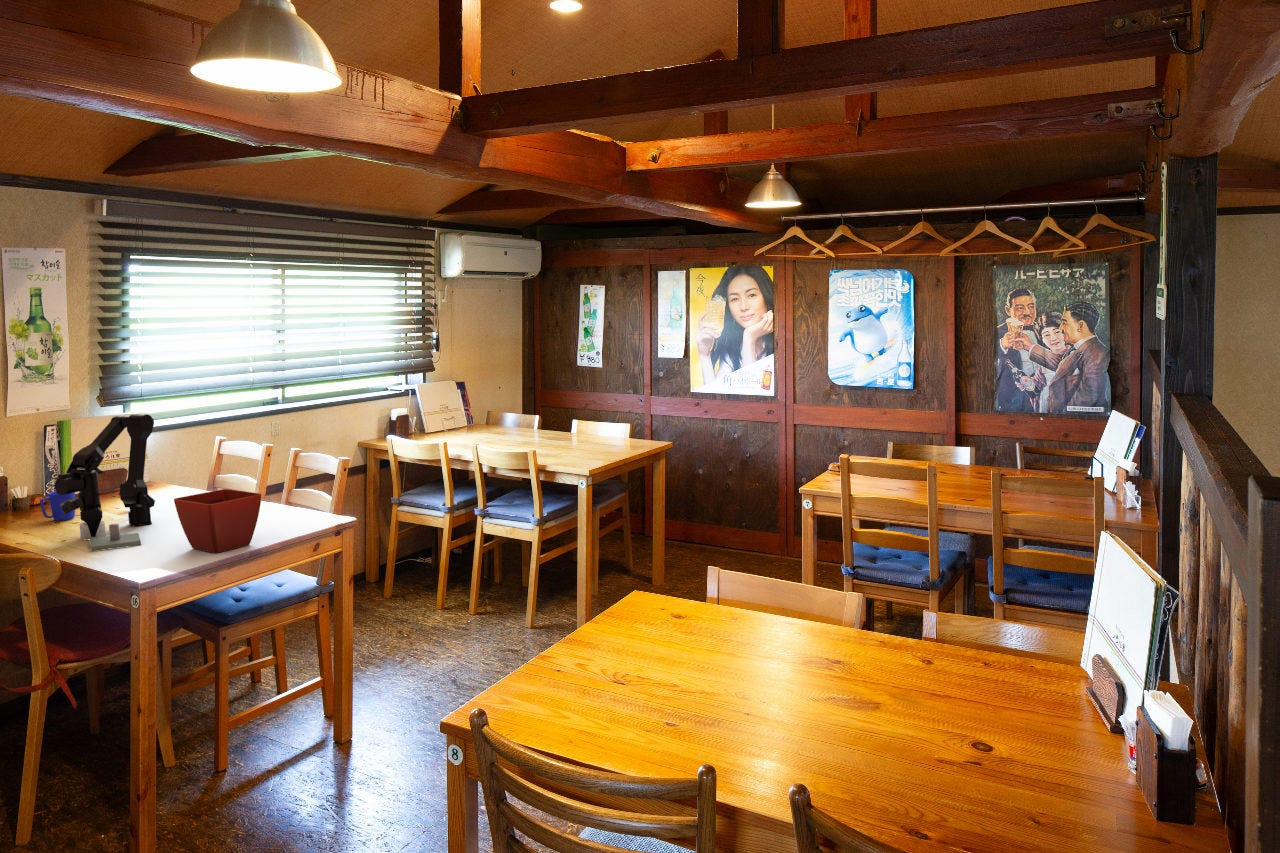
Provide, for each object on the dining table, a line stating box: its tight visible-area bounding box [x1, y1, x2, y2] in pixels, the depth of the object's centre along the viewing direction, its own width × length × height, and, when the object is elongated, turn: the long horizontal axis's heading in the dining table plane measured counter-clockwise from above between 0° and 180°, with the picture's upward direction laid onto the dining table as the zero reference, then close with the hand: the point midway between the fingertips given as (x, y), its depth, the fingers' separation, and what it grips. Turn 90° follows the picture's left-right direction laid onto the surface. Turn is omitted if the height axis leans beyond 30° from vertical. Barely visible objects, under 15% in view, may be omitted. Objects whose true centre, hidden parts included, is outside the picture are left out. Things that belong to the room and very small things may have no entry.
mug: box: [39, 491, 76, 521], centre depth 331 cm, size 8×12×10 cm
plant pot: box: [173, 488, 262, 554], centre depth 293 cm, size 19×19×17 cm
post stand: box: [89, 523, 142, 552], centre depth 298 cm, size 14×12×6 cm
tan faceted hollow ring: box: [79, 520, 107, 540], centre depth 307 cm, size 7×7×5 cm
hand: (93, 534), depth 307 cm, fingers closed on tan faceted hollow ring, 7 cm apart
